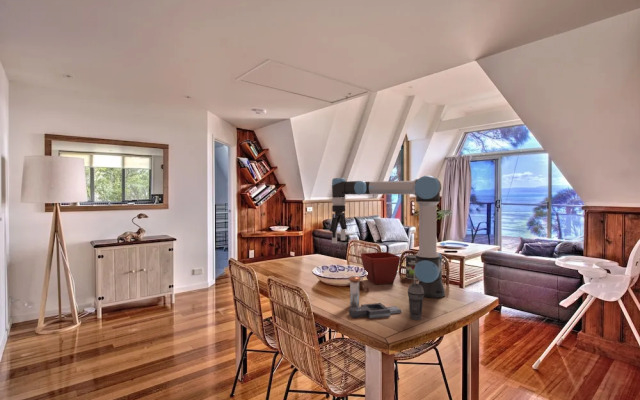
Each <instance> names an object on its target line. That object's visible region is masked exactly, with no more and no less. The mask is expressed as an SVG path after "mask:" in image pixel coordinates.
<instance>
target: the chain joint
mask: <svg viewBox="0 0 640 400" xmlns="http://www.w3.org/2000/svg"><path fill="white" fill-rule="evenodd" d="M401 313H402V308H401V309H400V308H399V307H398V306H395V305H394V306H386V305H384V304H383V303H381V302H377V303H375V302H374V303H365V304H361V305H360V306H359V307H349V308H348V315H349V316H350V317H351V318H352V319H359V318H369V319H378V318H379V319H380V318H388V317H389V318H390V317H391V315H394V314H401Z"/></svg>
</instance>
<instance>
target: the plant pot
mask: <svg viewBox="0 0 640 400" xmlns="http://www.w3.org/2000/svg"><path fill="white" fill-rule="evenodd" d="M360 257H361V262H362V268H363V270H366V271H367V272H368V275H367V276H366V275H365V277H366V280H367V281H369V282H370V283H372V284H373V285H385V284H386V285H387V284H394V282H395V280H396V277H397V273H398V271H399V266H400V261H401V256H400V255H396V254H393V253H391V252H389V251H384V252H383V251H382V252H365V253H364V252H362V253H360Z"/></svg>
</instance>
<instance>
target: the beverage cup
mask: <svg viewBox="0 0 640 400" xmlns="http://www.w3.org/2000/svg"><path fill="white" fill-rule="evenodd" d="M407 296H408V304H409V305H408V306H409V307H408V308H409V315H410V319H411V320H414V321H420V320H422V313H423V303H424V298H425V297H424V289H423V287H422V286H421V285H420V284H418V283H417V282H416V280H415V273H414V280H413V283H411V284H410V285H409V286H408V288H407Z"/></svg>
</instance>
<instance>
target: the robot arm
mask: <svg viewBox="0 0 640 400" xmlns="http://www.w3.org/2000/svg"><path fill="white" fill-rule="evenodd" d="M441 183H442V182H441V181H440V180H439V179H438V178H436V177H435V176H433V175H424V176H420V177H418V178H415V179H414V180H397V181H396V180H388V181H387V180H386V181H384V180H383V181H378V180H377V181H364V180H352V181H349V180H348V181H347V180H346V179H345V177H334V178H332V181H331V203H332V206H331V211H332V212H333V213H332V215H331V223H330V229H329V232H331V244H338V231H337V230H338V226H340V241H346V230H348V225H347V221H346V213H345V212H346V196H347V195H352V196H353V195H354V196H355V195H359V196H360V195H414V196H415V203H417V205H418V252H417V253H416V254H415V255H416V266H415V275H416V277H417V278H418V279H419V280H418V284H420V285H421V286H422V287H423V289H424V297H423V298H430V299H434V298H438V299H439V297H440V298H443V296H444V297H445V296H446V290H445V287H444V283H443V279H442V278H443V277H442V275H443V273H442V271H443V269H442V268H443V256H442V254H441V253H440V252H437V238H438V237H437V225H438V224H437V223H438V221H437V217H438V216H437V211H438V210H437V207H438V206H437V205H438V204H439V203H440V202H441V201H440V200H441V195H440V194H441V191H442V184H441Z"/></svg>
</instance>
